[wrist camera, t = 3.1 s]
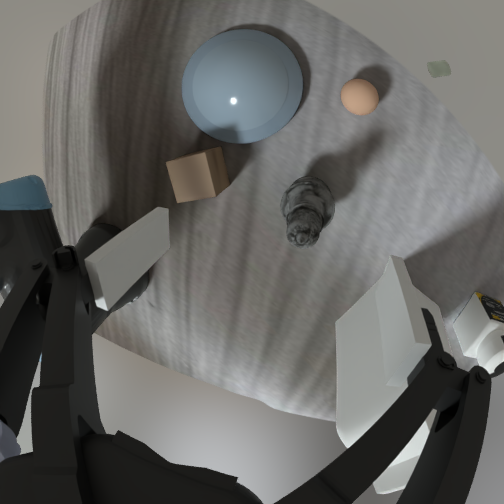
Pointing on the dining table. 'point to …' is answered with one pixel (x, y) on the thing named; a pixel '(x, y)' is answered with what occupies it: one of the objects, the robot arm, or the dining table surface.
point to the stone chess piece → (307, 210)
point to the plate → (242, 86)
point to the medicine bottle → (482, 332)
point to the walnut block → (198, 175)
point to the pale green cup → (439, 68)
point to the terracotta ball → (359, 97)
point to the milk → (374, 384)
